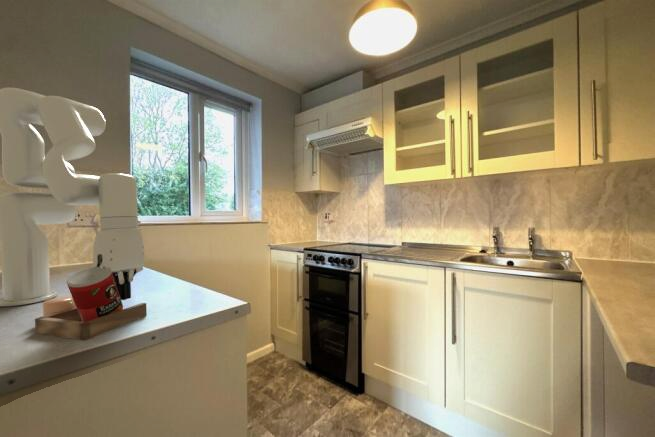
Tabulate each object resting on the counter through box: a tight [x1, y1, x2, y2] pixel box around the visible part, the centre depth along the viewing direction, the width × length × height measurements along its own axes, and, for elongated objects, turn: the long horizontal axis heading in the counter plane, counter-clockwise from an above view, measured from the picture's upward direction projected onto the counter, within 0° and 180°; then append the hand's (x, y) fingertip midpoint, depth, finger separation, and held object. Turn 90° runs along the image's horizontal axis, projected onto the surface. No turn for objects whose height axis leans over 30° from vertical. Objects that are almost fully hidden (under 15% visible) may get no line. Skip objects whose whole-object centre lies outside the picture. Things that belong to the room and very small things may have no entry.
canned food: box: [66, 266, 124, 322], centre depth 64 cm, size 8×8×11 cm
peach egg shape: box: [42, 295, 76, 317], centre depth 67 cm, size 6×6×5 cm
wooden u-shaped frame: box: [34, 302, 148, 341], centre depth 65 cm, size 14×14×3 cm
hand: (123, 298), depth 70 cm, fingers closed
